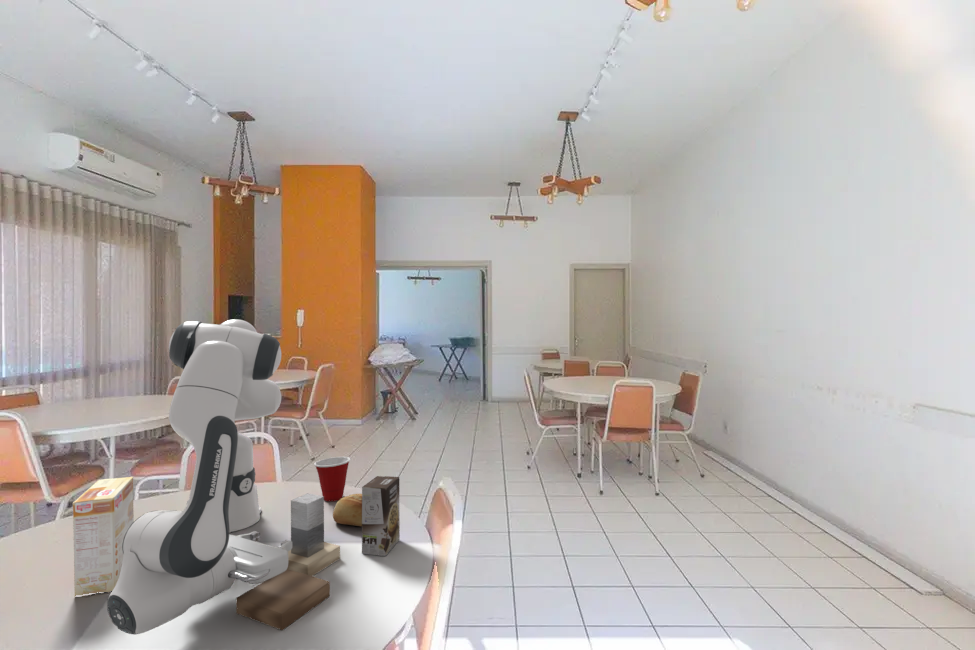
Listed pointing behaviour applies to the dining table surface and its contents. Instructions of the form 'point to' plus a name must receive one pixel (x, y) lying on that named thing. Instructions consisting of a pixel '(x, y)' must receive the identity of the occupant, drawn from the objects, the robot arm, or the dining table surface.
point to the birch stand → (314, 560)
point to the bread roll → (349, 510)
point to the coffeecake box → (101, 534)
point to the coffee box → (380, 515)
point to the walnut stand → (283, 598)
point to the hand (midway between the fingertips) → (273, 539)
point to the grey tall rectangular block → (307, 524)
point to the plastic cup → (332, 477)
